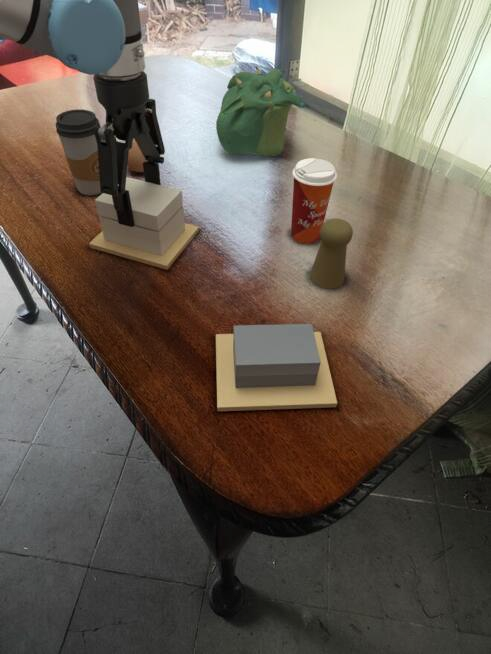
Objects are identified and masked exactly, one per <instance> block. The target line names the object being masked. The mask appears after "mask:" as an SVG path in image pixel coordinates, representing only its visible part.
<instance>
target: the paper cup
mask: <svg viewBox="0 0 491 654" xmlns="http://www.w3.org/2000/svg"><path fill="white" fill-rule="evenodd" d="M292 177H293V190H292V207H291V208H292V209H291V228H290V229H291V230H290V234H291V238H292V239H293V240H294V241H296V242H298V243H299V244H300V243H301V244H304V245H305V244H306V245H309V244H314V243H316V242H318V241H319V239H321V238H320V229H321V226H322V225H323V223H324V222H325V219H326V215H327V211H328V207H329V203H330V199H331V195H332V191H333V187H334V183H335V181H336V180H337V178H338V175H337V172H336V168H335V166H334V165H333V164H332V163H331V162H329V160H325V159H321V158H314V157H308V158H304V159H301V160H299V161H298V162H297V163H296V164H295V167H294V168H293V169H292Z"/></svg>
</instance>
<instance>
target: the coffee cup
mask: <svg viewBox="0 0 491 654" xmlns="http://www.w3.org/2000/svg"><path fill="white" fill-rule="evenodd" d="M55 120H56V122H55V131H56V134H57V135H58V137H59V140H60V143H61V146H62V149H63V152H64V156H65V158H66V162H67V164H68V168H69V171H70V173H71V176H72V178H73V181H74V184H75V187H76V190H77V191H78V192H79V193H80V194H82V195H84V196H97V195H102V193H101V190H100V176H99V162H98V148H97V141H96V138H95V135H94V128H95V127H96V126H97V127H102V126H101V124H100V121H99V118H97V116H96V113H95V112H93V111H91V110H87V109H70V110H65V111H63V112H61V113H59V114H57V115H56V117H55Z"/></svg>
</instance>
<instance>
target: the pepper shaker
mask: <svg viewBox="0 0 491 654" xmlns="http://www.w3.org/2000/svg"><path fill="white" fill-rule="evenodd" d="M353 234H354V230H353V227H352V225H351V224H350V222H349V221H347V220H344V219H342V218H329V219H327V220H325V221H324V223H323V225H322V226H321V229H320V238H319V239H320V240H321V242H320V244H319V247H318V250H317V252H316V255H315V259H314V262H313V264H312V266H311V270H310V273H309V278H310V280H311V282H312V283H313V284H314V285H316V286H318V287H320V288H323V289H336V288H339V287H341V286H342V285H343V284H344V282H345V275H346V262H347V250H348V249H347V248H348V245H349V243H350V242H351V240H352V238H353Z"/></svg>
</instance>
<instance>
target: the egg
mask: <svg viewBox="0 0 491 654" xmlns="http://www.w3.org/2000/svg"><path fill="white" fill-rule="evenodd" d="M143 162H148V160H145V158H144V156H143V154H142V152H141V150H140V148H139V147H138V145H137V143H136V141H135V139H133V143H132V148H131V149H130V150H129V154H128V165H127V168H129V169H130V170H131V171H133V172H135V173H139V174H140V173H144V170H143Z"/></svg>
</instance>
